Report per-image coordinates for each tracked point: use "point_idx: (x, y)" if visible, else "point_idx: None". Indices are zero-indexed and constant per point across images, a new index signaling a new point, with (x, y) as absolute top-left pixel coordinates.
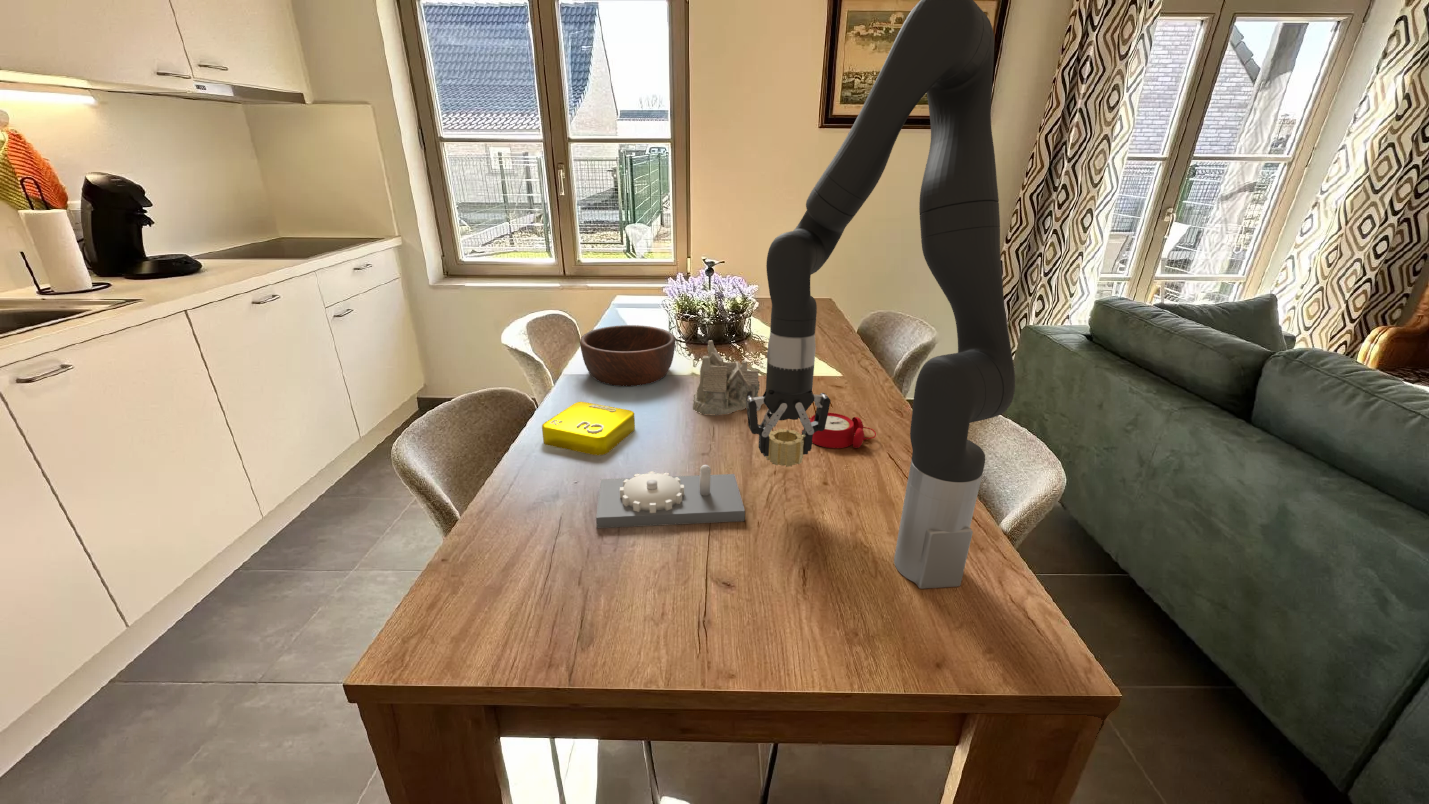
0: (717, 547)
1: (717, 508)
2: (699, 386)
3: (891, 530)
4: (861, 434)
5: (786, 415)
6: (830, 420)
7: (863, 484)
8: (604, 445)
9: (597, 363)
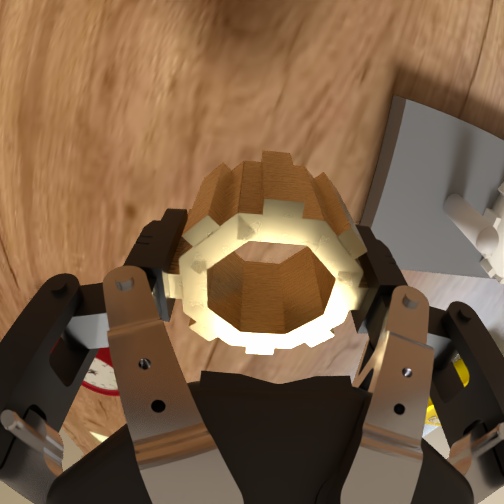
0: (468, 37)
1: (457, 134)
2: None
3: (51, 18)
4: None
5: (303, 412)
6: (96, 378)
7: (54, 196)
8: None
9: None
